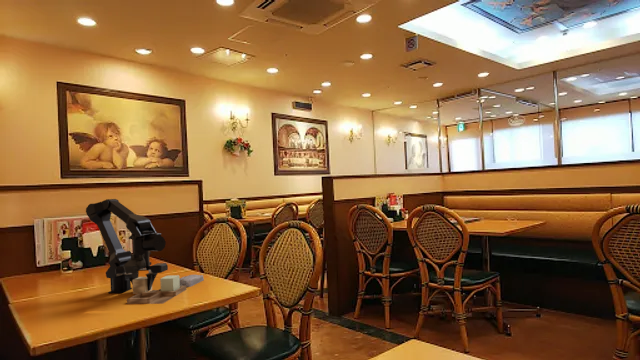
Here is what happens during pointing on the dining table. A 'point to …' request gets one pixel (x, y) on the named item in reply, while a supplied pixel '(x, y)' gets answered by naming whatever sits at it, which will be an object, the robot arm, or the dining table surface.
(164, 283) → the sage block
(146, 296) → the walnut base board
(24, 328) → the dining table surface
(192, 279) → the stone block
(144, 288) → the oak block
